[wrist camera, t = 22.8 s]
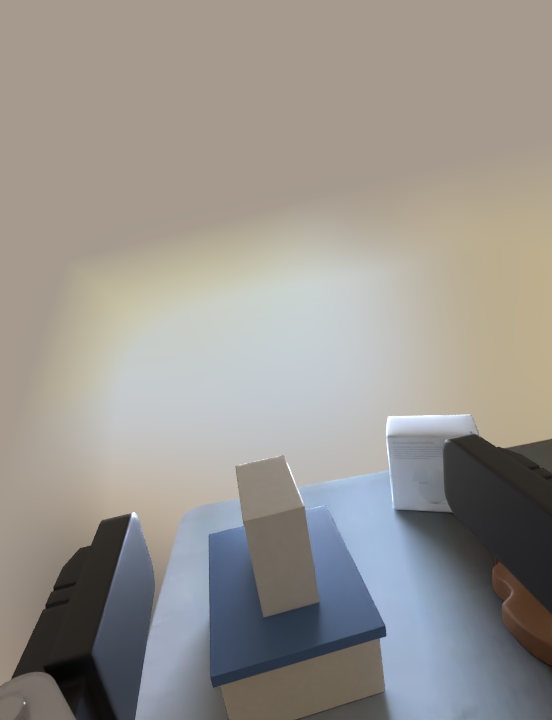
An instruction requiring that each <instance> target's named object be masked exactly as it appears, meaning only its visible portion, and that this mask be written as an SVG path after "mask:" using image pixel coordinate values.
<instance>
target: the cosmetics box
mask: <svg viewBox="0 0 552 720" xmlns="http://www.w3.org/2000/svg"><path fill="white" fill-rule="evenodd" d="M471 433H474V434H477V435H478V436H480V435H479V432H478V430H477V427H476V424H475V422H474V419H473V417H472V415H436V416H435V415H433V416H388V420H387V430H386V441H387V449H388V459H389V469H390V480H391V490H392V506H393V508H394V509H396V510H417V511H436V512H452V510H451V509H450V507H449V505H448V503H447V500H446V497H445V492H444V476H443V454H442V446H443V442H444V441H445V440H446V439H450V438H454V437H459V436H463V435H467V434H471Z"/></svg>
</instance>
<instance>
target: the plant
mask: <svg viewBox="0 0 552 720" xmlns="http://www.w3.org/2000/svg"><path fill="white" fill-rule="evenodd" d="M495 564H496V566H494V567H493V571H492V574H493V589H494V591H495V592H496V594H497V595H498V596H499V597H500V598H501V599H502V600H504V602H503V604H502V618H503V622H504V624H505V625H506V627H507V628H508V629H509V631H510V632H511V633H512V635H513V636H514V637H515V638H516V639H517V640H518V641H519V642H520V643H521V644H522V646H524V647H525V648H526V649H527V650H528V651H529V652H530V653H532V654H533V655H534V656H536V657H537V658H538V659H540V660H542V661H543V662H545V663H547V664H549V665H551V666H552V615H551V614H550V612H549V611H548V610H547V609H546V608H545V607H544V606H543V605H542V604H541V603H540V602H539V601H538V600H537V599H536V598H535V597H534V596H533V595H532V594H531V593H530V592H529V591H528V590H527V589H526V588H525V587H524V586H523V585H522V584H521V583H520V582H519V581H518V580H517V579H516V577H515V576H514V575H513V574H512V573H511V572H510V571H509V570H508V569H507V568H506V567H505V566H504V565H503V564H502V563H501V562H500V561H499V560H498V559H497V558H496V557H495Z"/></svg>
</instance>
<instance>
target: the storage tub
mask: <svg viewBox="0 0 552 720" xmlns="http://www.w3.org/2000/svg"><path fill="white" fill-rule="evenodd" d="M305 511H306V518H307V524H308V530H309V537H310V543H311V549H312V555H313V562H314V568H315V574H316V581H317V587H318V593H319V599H320V602H318V603H315V604H311V605H308V606H304V607H301V608H297V609H293V610H290V611H286V612H283V613H279V614H275V615H272V616H268V617H265V618H264V617H263V613H262V609H261V604H260V599H259V595H258V590H257V585H256V580H255V576H254V571H253V566H252V561H251V557H250V552H249V547H248V542H247V538H246V533H245V528H244V526H241V527H237V528H232V529H228V530H224V531H220V532H216V533H212V534H209V601H210V678H211V682H212V685H213V688H214V687H218V686H220V687H221V690H222V694H223V698H224V702H225V705H226V709H227V713H228V717H229V720H296V719H299V718H302V717H305V716H309V715H312V714H315V713H318V712H321V711H324V710H327V709H331V708H334V707H337V706H340V705H343V704H346V703H350V702H353V701H356V700H359V699H362V698H365V697H369V696H372V695H375V694H378V693H381V692H384V691H385V684H384V675H383V666H382V657H381V648H380V639H379V638H382V637H386V627H385V624H384V622H383V620H382V618H381V616H380V614H379V612H378V610H377V608H376V606H375V604H374V602H373V600H372V598H371V596H370V594H369V592H368V589H367V587H366V585H365V583H364V581H363V579H362V577H361V575H360V573H359V571H358V569H357V567H356V565H355V563H354V561H353V559H352V557H351V555H350V553H349V551H348V549H347V547H346V545H345V542H344V540H343V538H342V536H341V534H340V532H339V530H338V528H337V526H336V524H335V522H334V520H333V518H332V516H331V514H330V512H329V510H328V508H327V506H326V505H325V506H321V507H317V508H313V509H309V510H305Z"/></svg>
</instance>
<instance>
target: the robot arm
mask: <svg viewBox="0 0 552 720" xmlns="http://www.w3.org/2000/svg"><path fill="white" fill-rule="evenodd" d="M442 454H443V476H444V492H445V497H446V500H447V503H448V505H449V507H450V509H451V510H452V512H453V513H454V515H455V516H456V517H457V518H458V519H459V520H460V521H461V522H462V523H463V524H464V525H465V526H466V527H467V528H468V529H469V530H470V531H471V532H472V533H473V534H474V535H475V536H476V537H477V538H478V539H479V540H480V541H481V542H482V544H483V545H484V546H485V547H486V548H487V549H488V550H489V551H490V552H491V553H492V554H493V555H494V556H495V557H496V558H497V559H498V560H499V561H500V562H501V563H502V564H503V565H504V566H505V567H506V568H507V569H508V570H509V571H510V572H511V573H512V574H513V575H514V576H515V577H516V579H517V580H518V581H519V582H520V583H521V584H522V585H523V586H524V587H525V588H526V589H527V590H528V591H529V592H530V593H531V594H532V595H533V596H534V597H535V598H536V599H537V600H538V601H539V602H540V603H541V604H542V605H543V606H544V607H545V608H546V609H547V610H548V611H549V612H550V614H551V615H552V473H550V472H549V471H547V470H545V469H544V468H540V467H539V465H537V464H536V463H534V462H532V461H531V460H529V459H528V458H526V457H524V456H523V455H521V454H518V453H515V452H512V451H510V450H507V449H504V448H501V447H495V446H494V445H492V444H491V443H489V442H488V441H486V440H484V439H483V438H481V437H480V436H478V435H477V434H474V433H471V434H467V435H463V436H459V437H454V438H450V439H446V440H445V441H444V442H443V446H442ZM154 582H155V581H154V571H153V566H152V562H151V558H150V555H149V552H148V548H147V545H146V542H145V538H144V535H143V532H142V528H141V525H140V521H139V518H138V516H137V515H136V514H135V513H131V514H127V515H122V516H118V517H114V518H110V519H105V520H102V521H101V523H100V524H99V527H98V530H97V532H96V535H95V537H94V540H93V542H92V544H91V546H87V547H83V548H80V549H79V550H78V551H77V552H76V553H75V554H74V555H73V557H72V558H71V559H70V560H69V561H68V562H67V563H66V564H65V566H64V567H63V568H62V570H61V572H60V575H59V577H58V579H57V581H56V583H55V585H54V591H53V592H51V594H50V596H49V598H48V601H47V603H46V605H45V606H46V609H44V610H43V611H42V613H41V616H40V618H39V620H38V622H37V624H36V626H35V629H34V631H33V633H32V635H31V637H30V639H29V642H28V644H27V646H26V648H25V650H24V652H23V654H22V657H21V659H20V661H19V663H18V665H17V668H16V670H15V672H14V674H13V676H12V679H11V680H10V681H8V682H6V683H4V684H2V685H1V686H0V720H135V715H136V709H137V702H138V696H139V689H140V682H141V676H142V669H143V663H144V656H145V650H146V643H147V637H148V630H149V624H150V617H151V611H152V604H153V597H154V588H155V583H154Z"/></svg>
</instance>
